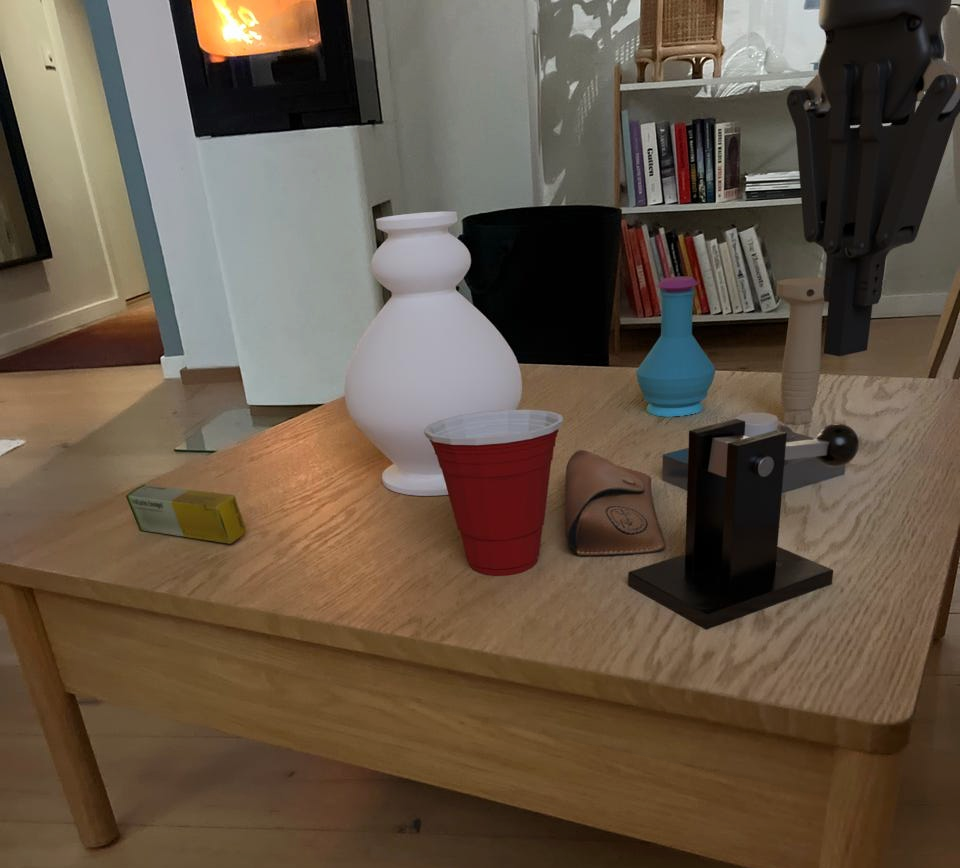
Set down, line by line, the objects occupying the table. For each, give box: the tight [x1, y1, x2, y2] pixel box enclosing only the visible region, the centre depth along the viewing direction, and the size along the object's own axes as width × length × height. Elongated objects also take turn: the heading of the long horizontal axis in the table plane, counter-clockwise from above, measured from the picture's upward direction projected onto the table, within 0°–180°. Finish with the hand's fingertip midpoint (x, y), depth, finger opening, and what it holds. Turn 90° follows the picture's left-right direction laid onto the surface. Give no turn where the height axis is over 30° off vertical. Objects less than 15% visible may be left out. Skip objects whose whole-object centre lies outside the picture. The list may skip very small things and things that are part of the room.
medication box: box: [125, 483, 248, 545], centre depth 87 cm, size 12×3×4 cm, turn 61°
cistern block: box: [661, 423, 847, 494], centre depth 90 cm, size 14×10×4 cm
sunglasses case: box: [564, 449, 666, 557], centre depth 84 cm, size 18×7×7 cm, turn 176°
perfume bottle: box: [636, 275, 716, 418], centre depth 110 cm, size 9×9×15 cm
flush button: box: [733, 412, 779, 437], centre depth 88 cm, size 4×4×2 cm
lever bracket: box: [627, 418, 834, 630], centre depth 68 cm, size 12×9×12 cm
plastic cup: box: [424, 409, 564, 577], centre depth 75 cm, size 11×11×12 cm
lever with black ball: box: [708, 423, 860, 478], centre depth 68 cm, size 13×3×3 cm, turn 119°
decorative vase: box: [343, 211, 523, 497], centre depth 92 cm, size 18×18×25 cm
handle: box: [775, 276, 826, 426], centre depth 102 cm, size 5×6×15 cm
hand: (845, 351), depth 67 cm, fingers closed
